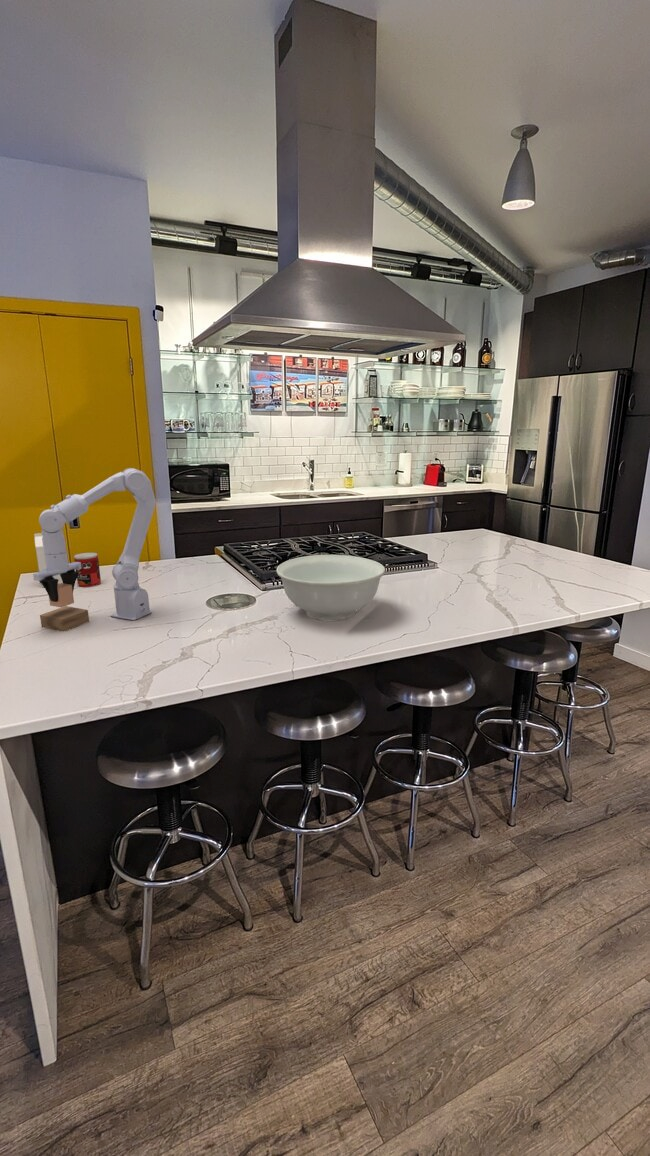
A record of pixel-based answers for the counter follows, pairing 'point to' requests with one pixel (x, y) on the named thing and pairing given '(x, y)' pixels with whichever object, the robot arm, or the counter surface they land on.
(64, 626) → the walnut base block
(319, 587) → the bowl
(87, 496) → the robot arm
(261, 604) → the counter surface
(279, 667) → the counter surface
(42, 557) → the milk carton
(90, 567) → the canned food
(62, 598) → the terracotta block
